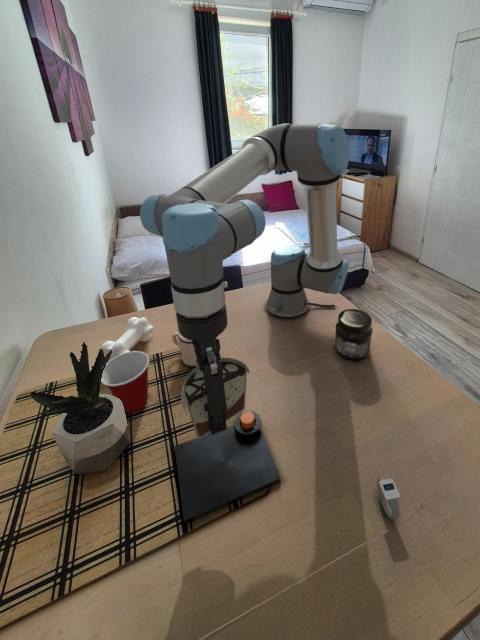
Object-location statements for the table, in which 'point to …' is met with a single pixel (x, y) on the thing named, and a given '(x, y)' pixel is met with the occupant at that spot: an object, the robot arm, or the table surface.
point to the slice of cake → (197, 395)
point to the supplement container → (353, 335)
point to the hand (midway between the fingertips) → (214, 414)
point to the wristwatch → (389, 497)
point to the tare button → (247, 420)
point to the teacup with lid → (185, 349)
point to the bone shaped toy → (129, 337)
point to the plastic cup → (128, 379)
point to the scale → (223, 468)
